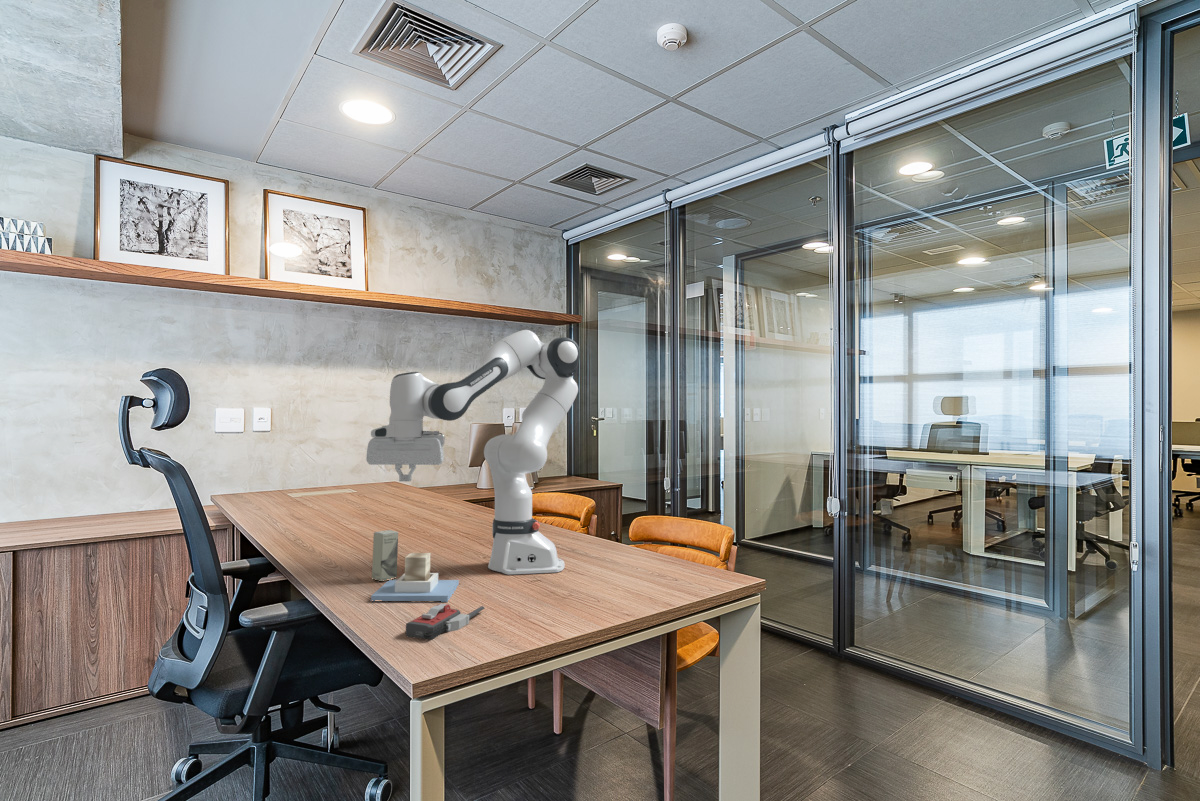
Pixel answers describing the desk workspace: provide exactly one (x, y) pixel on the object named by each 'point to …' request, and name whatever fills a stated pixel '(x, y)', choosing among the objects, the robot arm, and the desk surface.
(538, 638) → the desk surface
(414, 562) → the block
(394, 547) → the box
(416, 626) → the walkie-talkie
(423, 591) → the base plate
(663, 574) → the desk surface
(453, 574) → the desk surface
